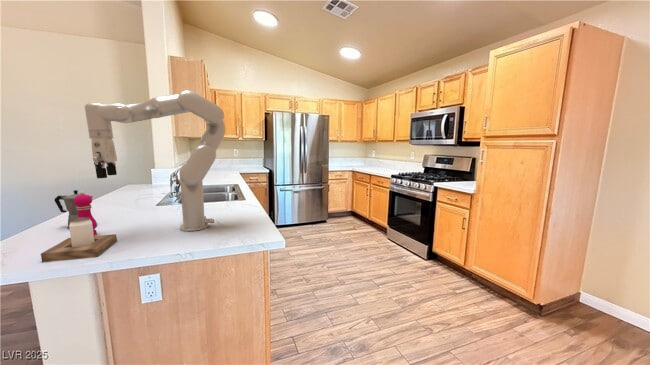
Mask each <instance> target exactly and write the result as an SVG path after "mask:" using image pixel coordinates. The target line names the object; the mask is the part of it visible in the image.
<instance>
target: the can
mask: <svg viewBox="0 0 650 365" xmlns="http://www.w3.org/2000/svg"><path fill="white" fill-rule="evenodd" d="M70 222H71V223H70V225H69V228H70V229H69V234H70V235H69V236H70V238H71V243H72V247H79V246H89V245H91V244H92V243H93V242H95V241H94V233H93V225H92V221H91V220H90V218H78V219H74V220H71V221H70Z"/></svg>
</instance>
